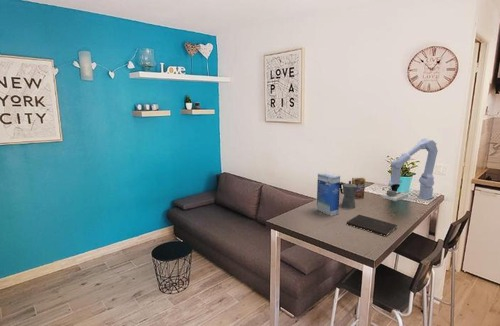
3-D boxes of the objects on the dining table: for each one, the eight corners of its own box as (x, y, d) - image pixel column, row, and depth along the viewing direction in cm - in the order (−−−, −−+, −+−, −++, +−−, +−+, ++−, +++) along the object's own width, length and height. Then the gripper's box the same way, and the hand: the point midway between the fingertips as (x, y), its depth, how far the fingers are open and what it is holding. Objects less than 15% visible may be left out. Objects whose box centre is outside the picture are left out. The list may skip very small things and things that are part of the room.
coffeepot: (360, 207, 199) (362, 182, 195) (352, 210, 194) (353, 184, 190) (342, 201, 211) (344, 177, 207) (334, 203, 206) (335, 179, 202)
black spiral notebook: (358, 217, 182) (359, 214, 182) (397, 228, 166) (397, 225, 165) (346, 225, 171) (346, 221, 171) (386, 237, 155) (386, 234, 155)
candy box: (353, 198, 216) (354, 179, 213) (350, 197, 220) (351, 177, 217) (364, 198, 217) (365, 178, 214) (361, 196, 221) (362, 177, 218)
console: (393, 193, 228) (393, 190, 227) (407, 196, 219) (407, 194, 219) (381, 197, 218) (381, 194, 218) (395, 201, 209) (395, 198, 209)
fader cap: (389, 194, 219) (389, 189, 218) (396, 195, 215) (396, 191, 214) (386, 195, 216) (387, 190, 216) (393, 196, 212) (393, 192, 212)
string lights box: (339, 214, 187) (341, 175, 182) (330, 216, 183) (332, 177, 178) (323, 208, 198) (325, 171, 193) (315, 210, 194) (317, 173, 189)
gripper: (395, 173, 222) (394, 190, 225) (385, 176, 214) (383, 194, 216) (404, 175, 216) (403, 192, 219) (394, 178, 208) (392, 196, 211)
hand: (394, 193), depth 217 cm, fingers closed
